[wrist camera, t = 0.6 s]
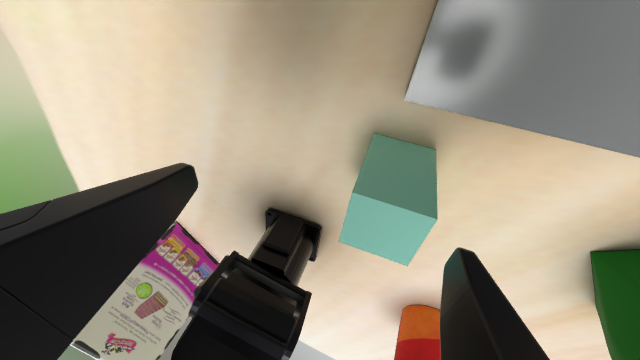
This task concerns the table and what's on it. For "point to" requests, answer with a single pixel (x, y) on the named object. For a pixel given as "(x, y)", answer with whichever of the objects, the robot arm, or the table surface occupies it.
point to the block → (392, 200)
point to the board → (537, 67)
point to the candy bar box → (149, 302)
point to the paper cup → (419, 334)
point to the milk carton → (618, 300)
